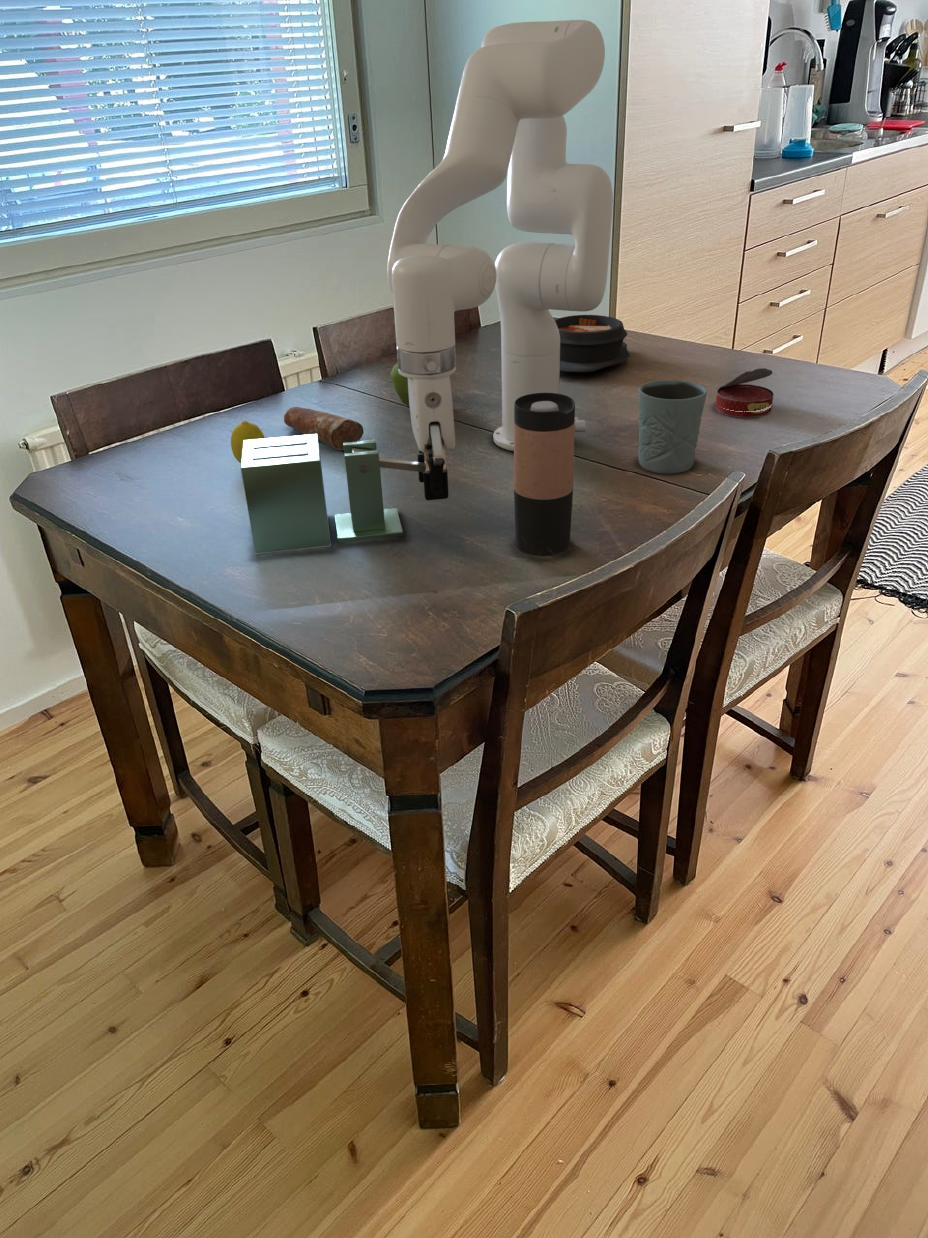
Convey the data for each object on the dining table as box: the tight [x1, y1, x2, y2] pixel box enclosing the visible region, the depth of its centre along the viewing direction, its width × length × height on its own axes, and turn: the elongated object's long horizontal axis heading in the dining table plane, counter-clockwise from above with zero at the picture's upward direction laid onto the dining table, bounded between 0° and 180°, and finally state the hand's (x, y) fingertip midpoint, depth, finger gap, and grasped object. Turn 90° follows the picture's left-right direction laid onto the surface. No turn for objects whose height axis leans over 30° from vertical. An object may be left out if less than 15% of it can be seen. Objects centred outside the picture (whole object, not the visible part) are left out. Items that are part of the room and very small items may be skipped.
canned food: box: [714, 367, 774, 419], centre depth 166 cm, size 11×10×10 cm
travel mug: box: [513, 393, 576, 557], centre depth 118 cm, size 8×8×20 cm
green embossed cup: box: [638, 379, 708, 475], centre depth 144 cm, size 10×10×12 cm
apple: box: [390, 362, 410, 408], centre depth 172 cm, size 11×10×10 cm
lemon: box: [230, 420, 265, 464], centre depth 149 cm, size 6×6×8 cm
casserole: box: [554, 314, 631, 374], centre depth 193 cm, size 25×19×8 cm
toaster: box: [240, 434, 332, 556], centre depth 125 cm, size 10×10×13 cm
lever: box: [352, 448, 432, 472], centre depth 126 cm, size 12×6×2 cm, turn 100°
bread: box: [283, 406, 364, 451], centre depth 161 cm, size 6×19×6 cm, turn 39°
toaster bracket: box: [333, 439, 404, 544], centre depth 127 cm, size 9×8×12 cm
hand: (433, 488), depth 128 cm, fingers closed on lever, 5 cm apart
